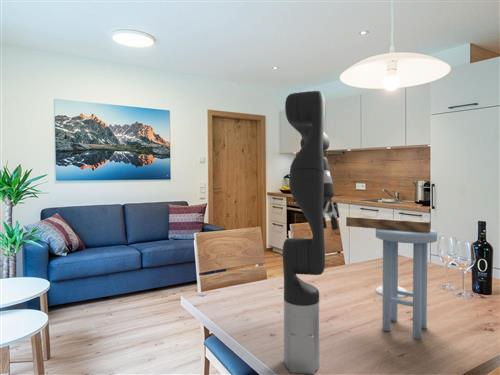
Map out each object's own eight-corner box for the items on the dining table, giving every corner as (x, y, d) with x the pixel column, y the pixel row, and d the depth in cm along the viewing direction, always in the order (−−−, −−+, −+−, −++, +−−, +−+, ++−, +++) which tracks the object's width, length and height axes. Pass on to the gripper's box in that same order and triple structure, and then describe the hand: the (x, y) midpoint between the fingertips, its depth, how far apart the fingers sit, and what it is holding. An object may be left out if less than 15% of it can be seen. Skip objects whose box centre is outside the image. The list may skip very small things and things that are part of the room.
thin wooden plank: (430, 231, 107) (430, 221, 107) (428, 233, 105) (428, 222, 105) (349, 225, 123) (349, 216, 123) (346, 226, 120) (346, 217, 120)
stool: (440, 325, 113) (441, 229, 112) (430, 347, 99) (431, 237, 98) (383, 312, 124) (384, 224, 123) (367, 330, 109) (368, 231, 108)
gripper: (322, 190, 131) (329, 232, 127) (302, 185, 121) (309, 230, 116) (340, 185, 127) (348, 228, 122) (321, 179, 116) (329, 226, 112)
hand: (329, 229), depth 119 cm, fingers open, 8 cm apart
